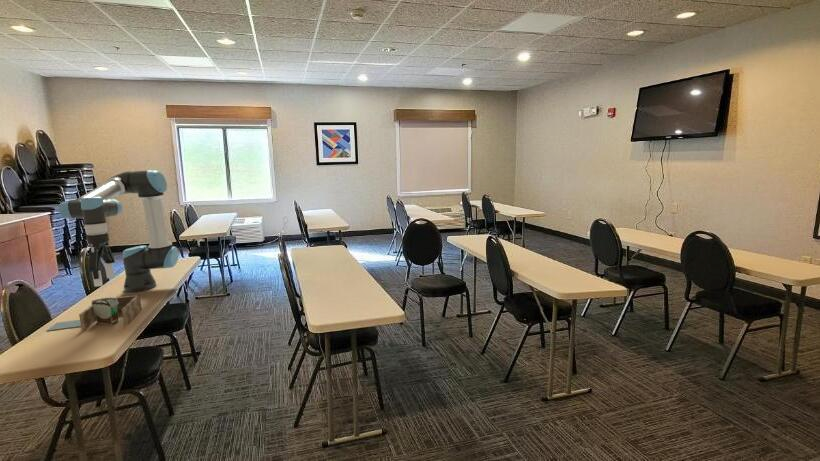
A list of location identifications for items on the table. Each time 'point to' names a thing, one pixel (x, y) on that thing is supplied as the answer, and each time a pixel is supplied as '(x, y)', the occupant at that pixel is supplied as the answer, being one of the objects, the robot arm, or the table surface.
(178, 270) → the table surface
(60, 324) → the pad
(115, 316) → the food container
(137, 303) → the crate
